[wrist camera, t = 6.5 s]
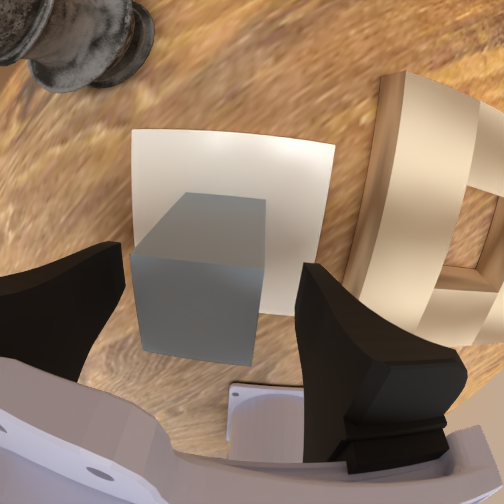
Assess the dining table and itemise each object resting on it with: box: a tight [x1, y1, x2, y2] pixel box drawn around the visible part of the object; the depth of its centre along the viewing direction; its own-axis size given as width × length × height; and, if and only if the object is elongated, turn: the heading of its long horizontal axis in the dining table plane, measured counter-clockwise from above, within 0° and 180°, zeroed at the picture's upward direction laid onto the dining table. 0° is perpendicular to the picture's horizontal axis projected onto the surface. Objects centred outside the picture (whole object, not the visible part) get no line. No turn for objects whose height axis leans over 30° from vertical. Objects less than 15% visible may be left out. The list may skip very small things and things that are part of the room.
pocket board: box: [342, 71, 504, 347], centre depth 14 cm, size 14×14×3 cm
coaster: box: [131, 129, 335, 316], centre depth 16 cm, size 10×10×1 cm
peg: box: [130, 192, 266, 366], centre depth 13 cm, size 4×4×7 cm
